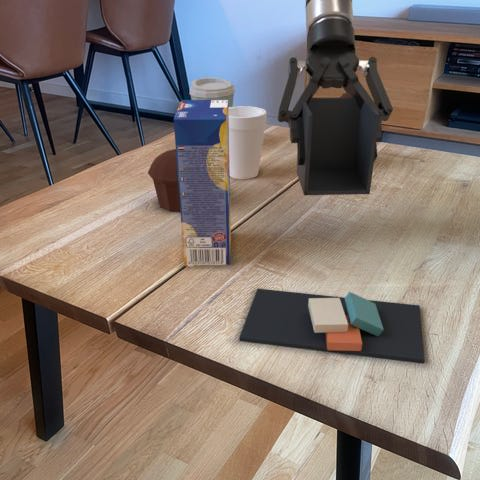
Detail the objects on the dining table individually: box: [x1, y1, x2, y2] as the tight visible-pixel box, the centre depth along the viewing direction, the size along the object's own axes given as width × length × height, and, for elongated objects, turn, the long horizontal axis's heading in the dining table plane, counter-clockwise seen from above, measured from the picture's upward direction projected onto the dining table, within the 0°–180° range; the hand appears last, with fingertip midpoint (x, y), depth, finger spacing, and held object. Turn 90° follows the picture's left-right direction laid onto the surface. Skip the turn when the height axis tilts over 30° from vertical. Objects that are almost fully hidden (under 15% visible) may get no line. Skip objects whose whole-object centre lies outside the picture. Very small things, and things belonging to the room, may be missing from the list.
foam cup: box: [228, 105, 268, 180], centre depth 115 cm, size 10×9×13 cm
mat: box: [238, 288, 426, 364], centre depth 71 cm, size 22×12×1 cm, turn 78°
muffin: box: [147, 148, 181, 213], centre depth 102 cm, size 12×11×10 cm
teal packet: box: [344, 291, 384, 337], centre depth 70 cm, size 6×4×1 cm, turn 178°
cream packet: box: [308, 298, 348, 333], centre depth 69 cm, size 6×4×1 cm, turn 1°
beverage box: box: [173, 99, 232, 268], centre depth 83 cm, size 7×11×22 cm, turn 0°
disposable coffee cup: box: [189, 76, 236, 108], centre depth 131 cm, size 11×11×15 cm
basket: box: [296, 96, 380, 196], centre depth 87 cm, size 11×10×12 cm
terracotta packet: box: [325, 315, 362, 351], centre depth 68 cm, size 6×4×1 cm, turn 177°
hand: (337, 160), depth 85 cm, fingers closed on basket, 10 cm apart
